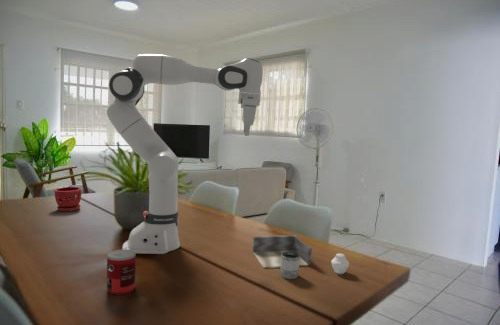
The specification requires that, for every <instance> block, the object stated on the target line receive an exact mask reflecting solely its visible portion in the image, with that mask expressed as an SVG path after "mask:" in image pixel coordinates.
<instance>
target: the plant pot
mask: <svg viewBox="0 0 500 325" xmlns="http://www.w3.org/2000/svg"><path fill="white" fill-rule="evenodd" d="M54 199H55V202H56V205H57V207H56V209H57V210H58V211H61V212H72V211H77V210H79V209H80V208H81V204H80V202H81V199H82V188H81V187H79V186H65V187H64V186H63V187H59V188H55V189H54Z"/></svg>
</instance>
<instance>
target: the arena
mask: <svg viewBox="0 0 500 325" xmlns="http://www.w3.org/2000/svg"><path fill="white" fill-rule="evenodd" d="M312 250H313V249H312V248H311V247H310V245H309V244H307V243H306V242H304V241H303V240H302V239H301V238H299V237H298V236H297V235H295V234H293V235H289V234H288V235H267V236H253V237H252V254H253V256H254V257H255V258H256V260H257V261H258V263H259V264H260V265H261V267H262V269H264V270H265V269H278V268H281V255H282V253H284V252H295V253H297V254H298V255H299V257H300V260H299V268H300V267H311V266H312V264H311V263H312Z"/></svg>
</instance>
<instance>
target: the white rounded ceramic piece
mask: <svg viewBox="0 0 500 325" xmlns="http://www.w3.org/2000/svg"><path fill="white" fill-rule="evenodd" d="M346 257H347V256H346V255H345V254H344V253H336V254H335V256H334V258H332V260H331V266H332V268H333V271H334V273H335V274H337V275H343V274H345V272H346V271H347V270H348V268H349V266H350V262H349V261H348V259H347V258H346Z"/></svg>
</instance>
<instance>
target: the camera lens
mask: <svg viewBox="0 0 500 325" xmlns="http://www.w3.org/2000/svg"><path fill="white" fill-rule="evenodd" d="M299 260H300V257H299V255H298V254H297V253H295V252H284V253H282V255H281V268H280V270H279V271H280V277H282V278H284V279H288V280H294V279H295V280H296V279H297V278H298V276H299V272H300V267H299Z"/></svg>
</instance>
